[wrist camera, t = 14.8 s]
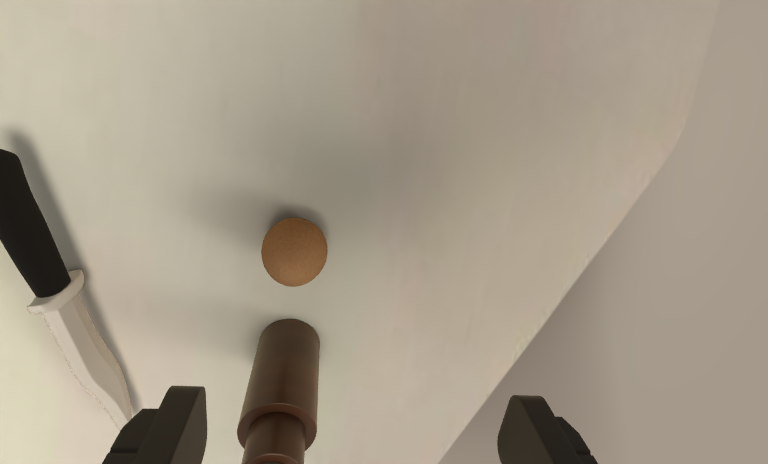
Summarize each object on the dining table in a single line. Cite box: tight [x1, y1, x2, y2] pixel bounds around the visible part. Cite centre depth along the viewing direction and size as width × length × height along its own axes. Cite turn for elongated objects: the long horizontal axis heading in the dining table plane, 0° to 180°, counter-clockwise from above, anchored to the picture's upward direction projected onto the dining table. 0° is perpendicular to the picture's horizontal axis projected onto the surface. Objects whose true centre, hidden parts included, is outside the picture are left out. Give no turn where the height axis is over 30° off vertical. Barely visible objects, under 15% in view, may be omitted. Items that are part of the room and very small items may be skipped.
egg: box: [261, 218, 327, 286], centre depth 29 cm, size 4×4×6 cm
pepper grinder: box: [237, 319, 320, 464], centre depth 29 cm, size 5×5×14 cm
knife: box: [0, 149, 132, 431], centre depth 29 cm, size 25×2×5 cm, turn 5°
